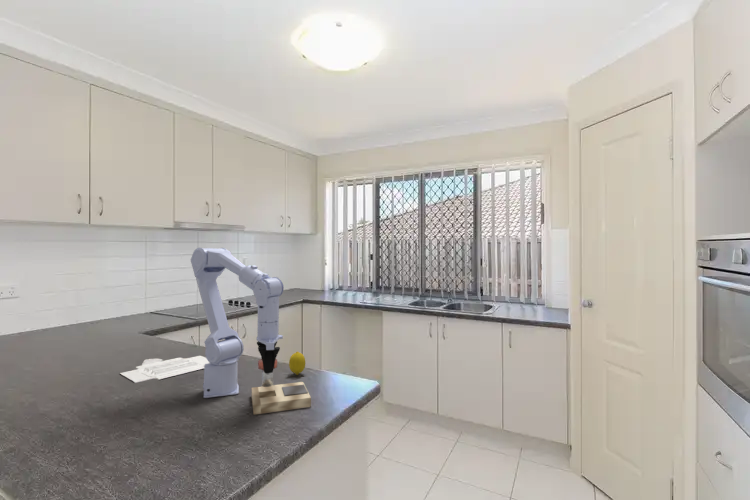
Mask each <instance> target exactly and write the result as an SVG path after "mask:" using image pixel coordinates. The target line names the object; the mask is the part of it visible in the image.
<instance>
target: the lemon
mask: <svg viewBox="0 0 750 500" xmlns="http://www.w3.org/2000/svg"><path fill="white" fill-rule="evenodd" d="M288 367H289V370H290V371H291V373H293V374H295V375H296V376H298V375H299V374H300V373H302V372H303V371H304V370H305V367H306V358H305V355H304V354H303V353H302V352H299V351H296V352H294V353H292V355H291V356H290V357H289V362H288Z"/></svg>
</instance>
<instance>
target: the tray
mask: <svg viewBox="0 0 750 500" xmlns="http://www.w3.org/2000/svg"><path fill="white" fill-rule="evenodd" d="M208 363H209V362H208V360H207V358H206V356H203V355H196V356H192V357H187V358H183V357H176V358H171V359H166V360H163V358H162V359H161V358H149V359H147V358H146V359H144V360H143V362H142V364H141V365H137V366H135V369H133V370H129V371H123V372H120V373H119V375H120V374H121V375H122V376H123V377H125V378H127V379H129V380H130V381H132V382H133V383H135V384H136V383H140V382H144V381H145V382H146V381H148V380H152V379H153V380H154V379H155V380H159V381H160V380H162V379H166V378H170V377H174V376H179V375H183V374H186V373H191V372H195V371H197V370H198V371H199V370H202V369H203V370H204V367H205V364H208Z"/></svg>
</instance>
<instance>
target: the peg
mask: <svg viewBox="0 0 750 500" xmlns="http://www.w3.org/2000/svg"><path fill="white" fill-rule="evenodd" d="M277 368H278V359H277V358H276V360H275V364H274V369H277ZM258 369H259V370H261V387H262V386H263V387H270V386H272V385H274V371H273V372H272V373H265V372H264V368H263V361H262V358H261V359H259V360H257V370H258ZM274 369H273V370H274Z"/></svg>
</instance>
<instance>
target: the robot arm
mask: <svg viewBox="0 0 750 500" xmlns="http://www.w3.org/2000/svg"><path fill="white" fill-rule="evenodd" d="M190 264H191V267H192V270H193V271H192V272H193V275H194V277H195V280H196V285H197V288H198V291H199V294H200V298H201V301H202V305H203V309H204V312H205V313H204V314H205V316H206V321H207V324H208V327H209V331H210V334H208V336H207V338H206V339H205V340H204V342H203V343H204V346H205V352H204V354H205V358H207V360H208V362H209V363H208V364H205V366H203V367H204V368H203V384H202V385H203V386H202V389H203V398H204V399H208V398H216V397H224V396H225V397H226V396H234V395H238V394H239V393H240V392H239V388H240V387H239V383H238V361H239V360H240V357H241V356H242V355H243V354H244V343H243V341H242V339H241V338H240V336H239V333H238V331H236V330H235V329H233V328H231V327H230V326H229V321H228V319H227V318H228V317H227V314H226V311H225V307H224V304H223V301H222V297H221V296H222V295H221V293H220V290H219V286H218V283H217V278H218V277H219V276H221V275H222V274H223V272H224V271H225V270H227V271H228V270H229V271H230V272H232V273H234V274H235V275H237V276H238V280H239V282H240V283H242V284H243V285H244V286H246V287H247V288H248V289H250V290H251V291H252V292H253V295H254V297H255V304H256V305H257V331H256V332H257V333H256V334H257V336H256V345H257V346H258V347H257V349H258V350H257V351H258V352H259V353H258V354H259V355H260V356H261V359H262V361H263V368H264V372H265V373H272V372H273V373H274V364H275V360H276V359H277V356H278V354H279V353H280V350H281V347H280V346H277V344H278V341H280V340H282V339H283V338H284V335H283V334H279V333H280V332H279V327H280V326H279V325H280V319H279V318H280V316H279V315H280V297H281V296H282V295H283V293H284V284H283V282H282V280H281V278H279V277H277V276H273V277H271V276H269V274H268V273H267V272H265V273H264V272H263V271H262V270H261V269H258V266H257V265H256V264H253V265H252V264H250V265H245V264H244V263H243V262H241V261H240V260H239V259H238V258H236V257H235V256H234V255H232V252H231V250H228V249H227V248H226V247H220V248H219V247H218V248H215V247H206V248H205V247H204V248H203V247H197V248H195V249H194V250H193V252H192V255H191V258H190Z"/></svg>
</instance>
